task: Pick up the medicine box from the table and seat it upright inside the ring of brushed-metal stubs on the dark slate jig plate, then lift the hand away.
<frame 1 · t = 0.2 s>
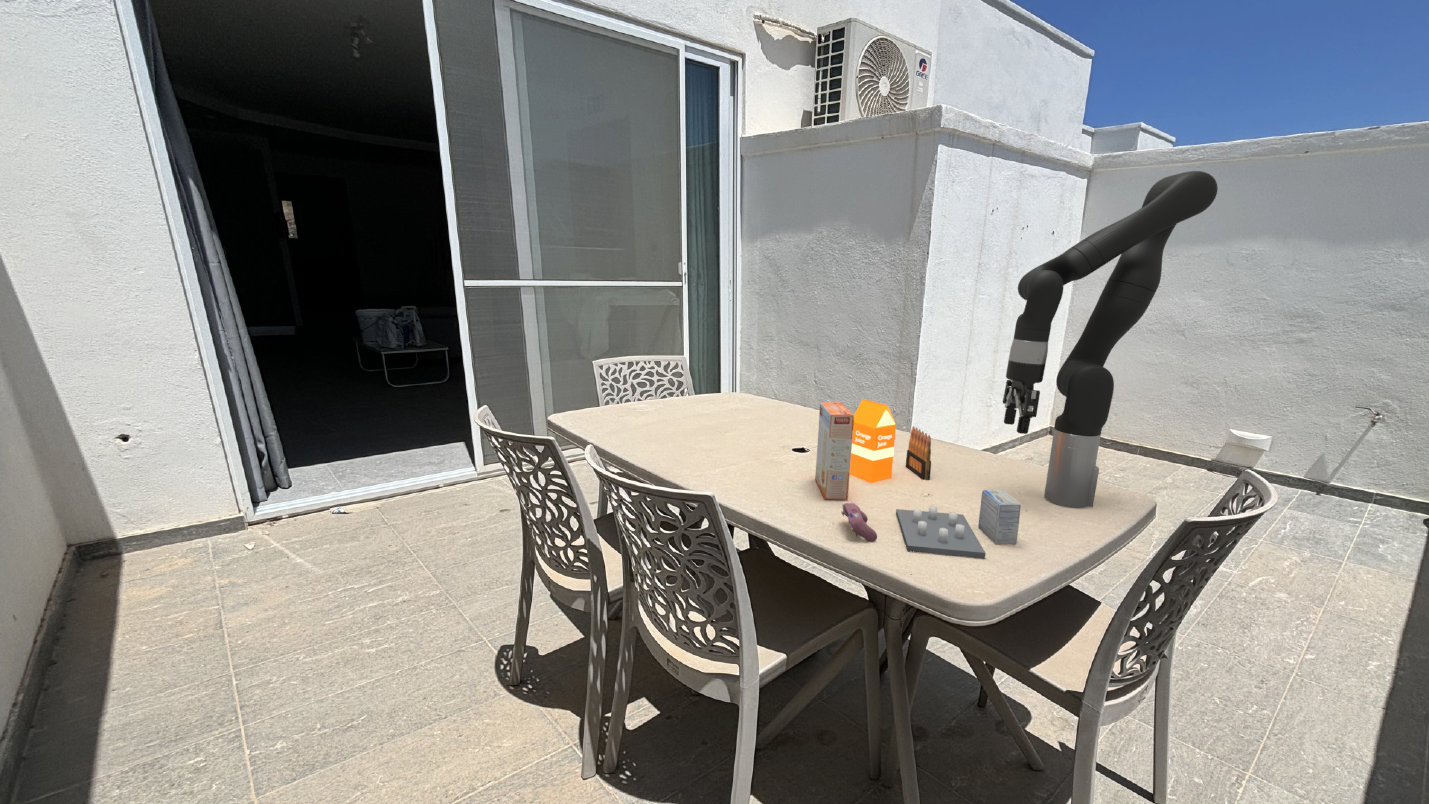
hand: (1015, 428, 134), 17 cm above the table, tool pointing down, fingers open, 8 cm apart
stub jig: (936, 534, 117), on the table
video game controller: (857, 532, 118), on the table
medicine box: (996, 537, 117), on the table
orange juice: (868, 476, 152), on the table
cracker box: (831, 490, 141), on the table
ammunition clip: (917, 473, 154), on the table
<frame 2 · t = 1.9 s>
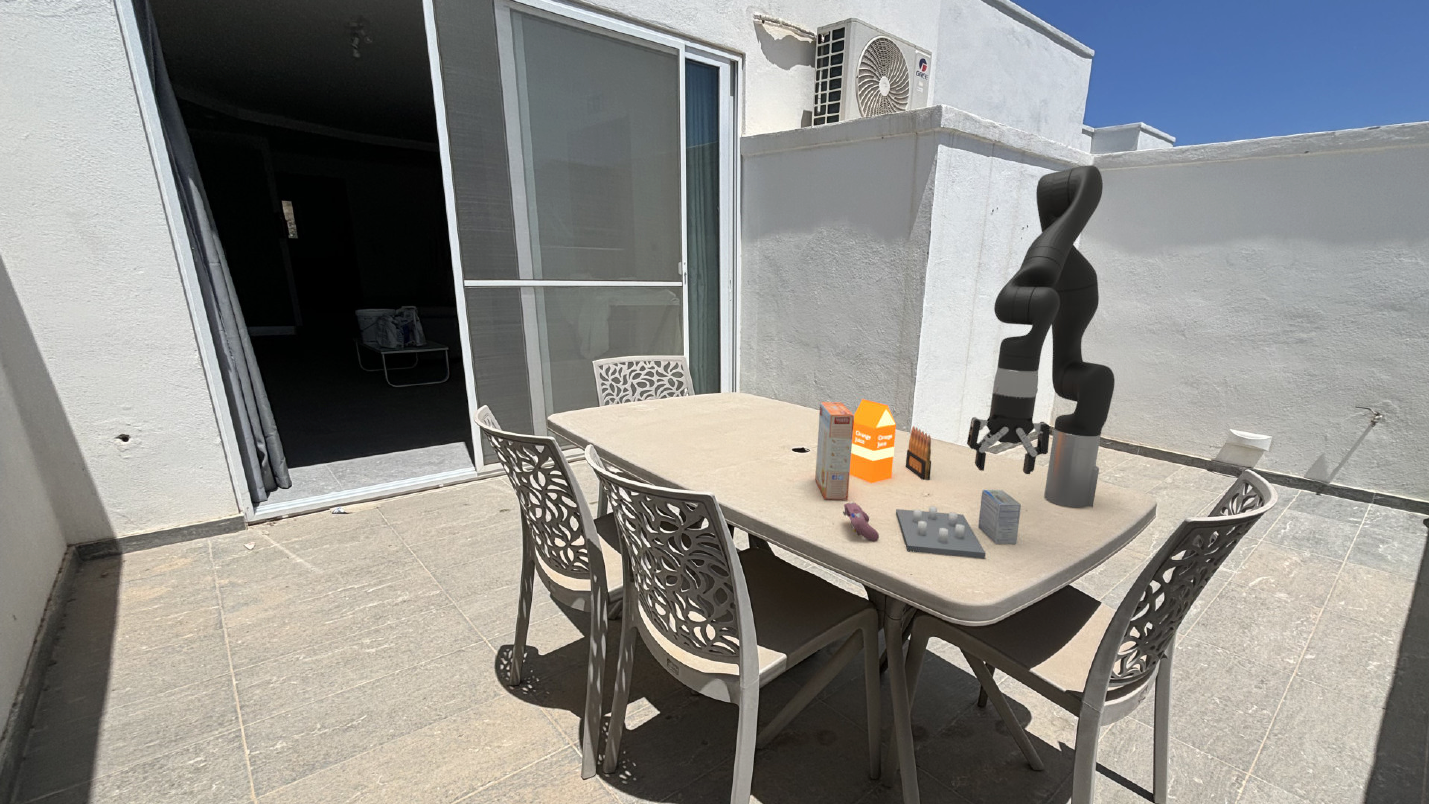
hand: (1003, 471, 114), 14 cm above the table, tool pointing down, fingers open, 8 cm apart
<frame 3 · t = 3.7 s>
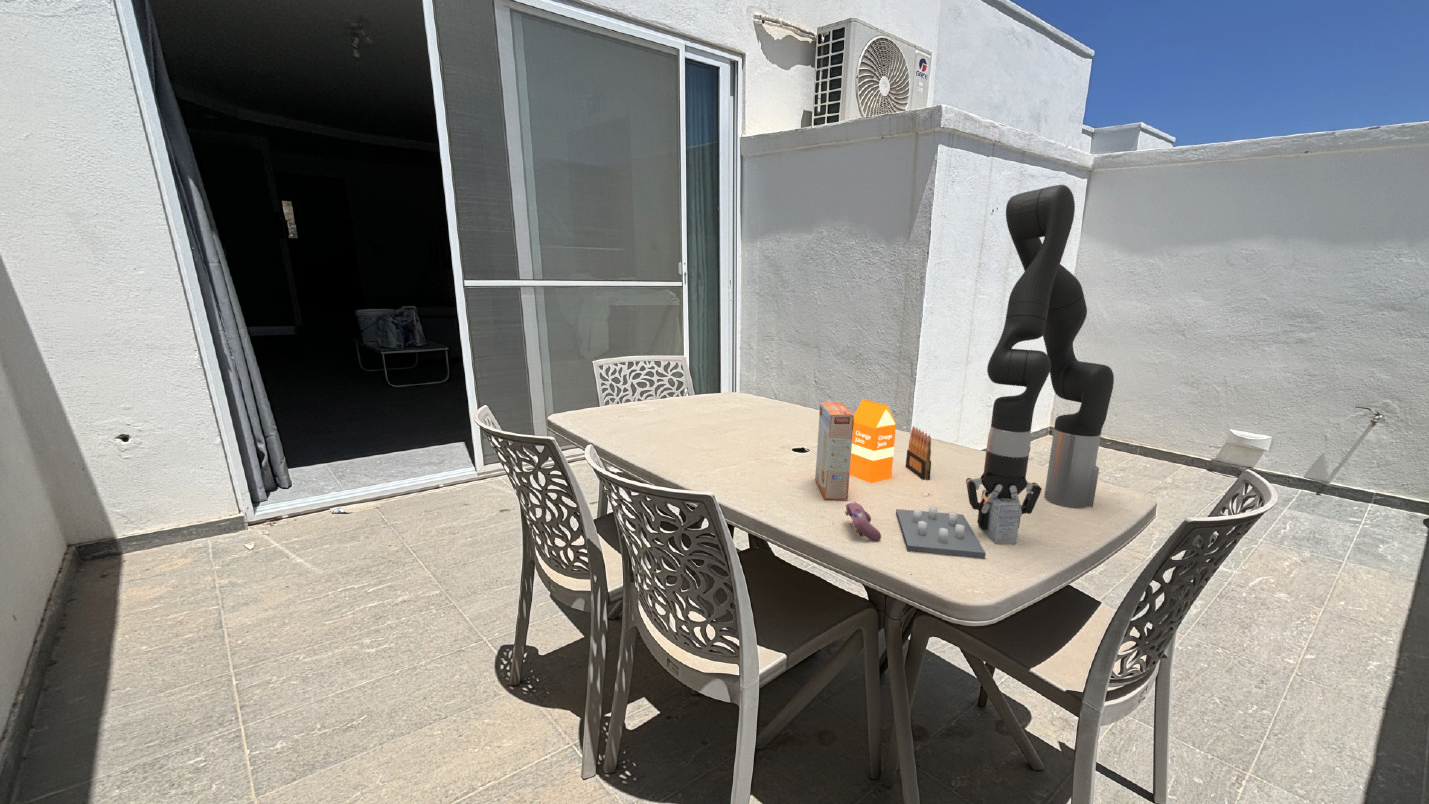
hand: (997, 529, 117), 1 cm above the table, tool pointing down, fingers closed on medicine box, 5 cm apart
medicine box: (996, 536, 117), on the table, touching gripper
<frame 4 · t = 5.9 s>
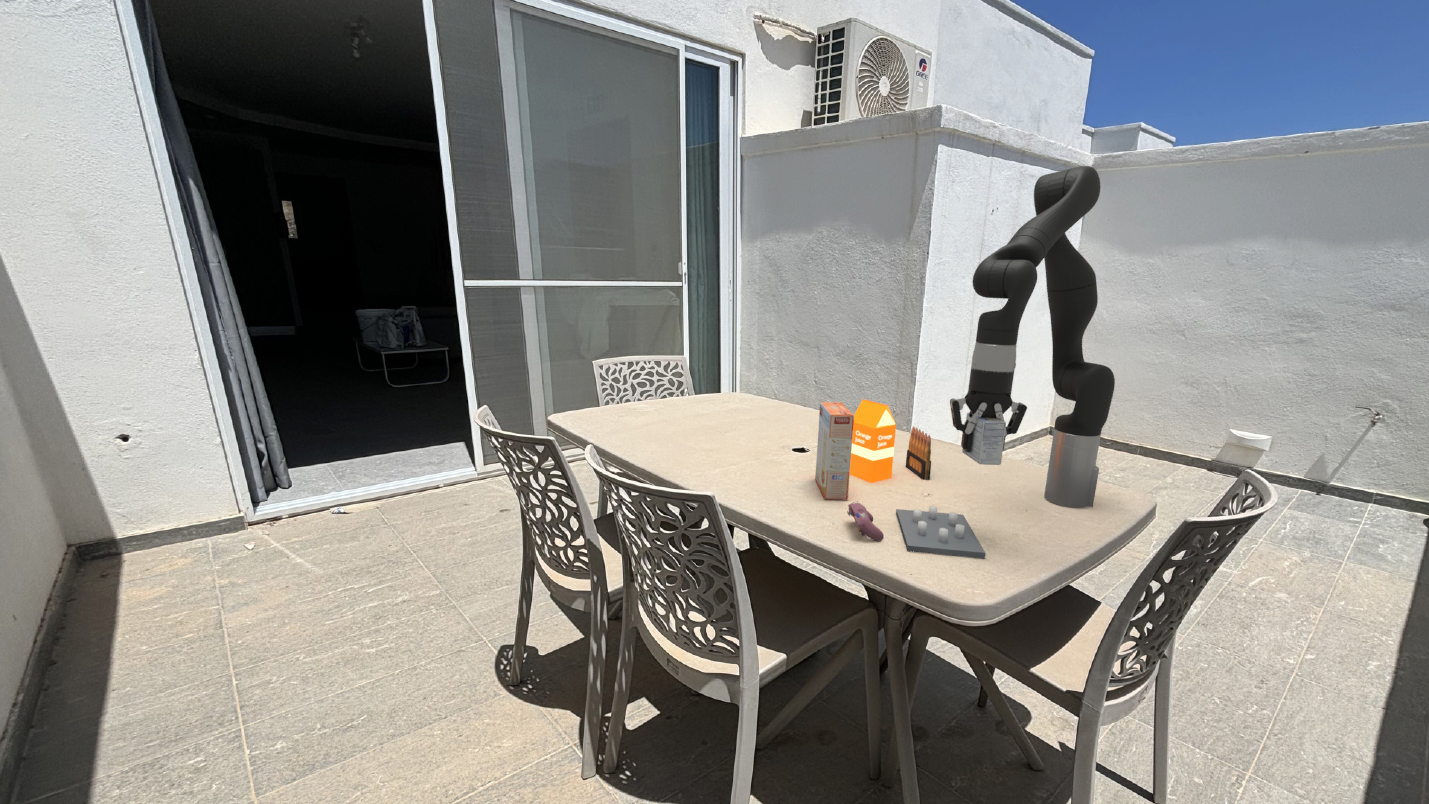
hand: (981, 451, 113), 18 cm above the table, tool pointing down, fingers closed on medicine box, 5 cm apart
medicine box: (980, 460, 113), point 16 cm above the table, touching gripper
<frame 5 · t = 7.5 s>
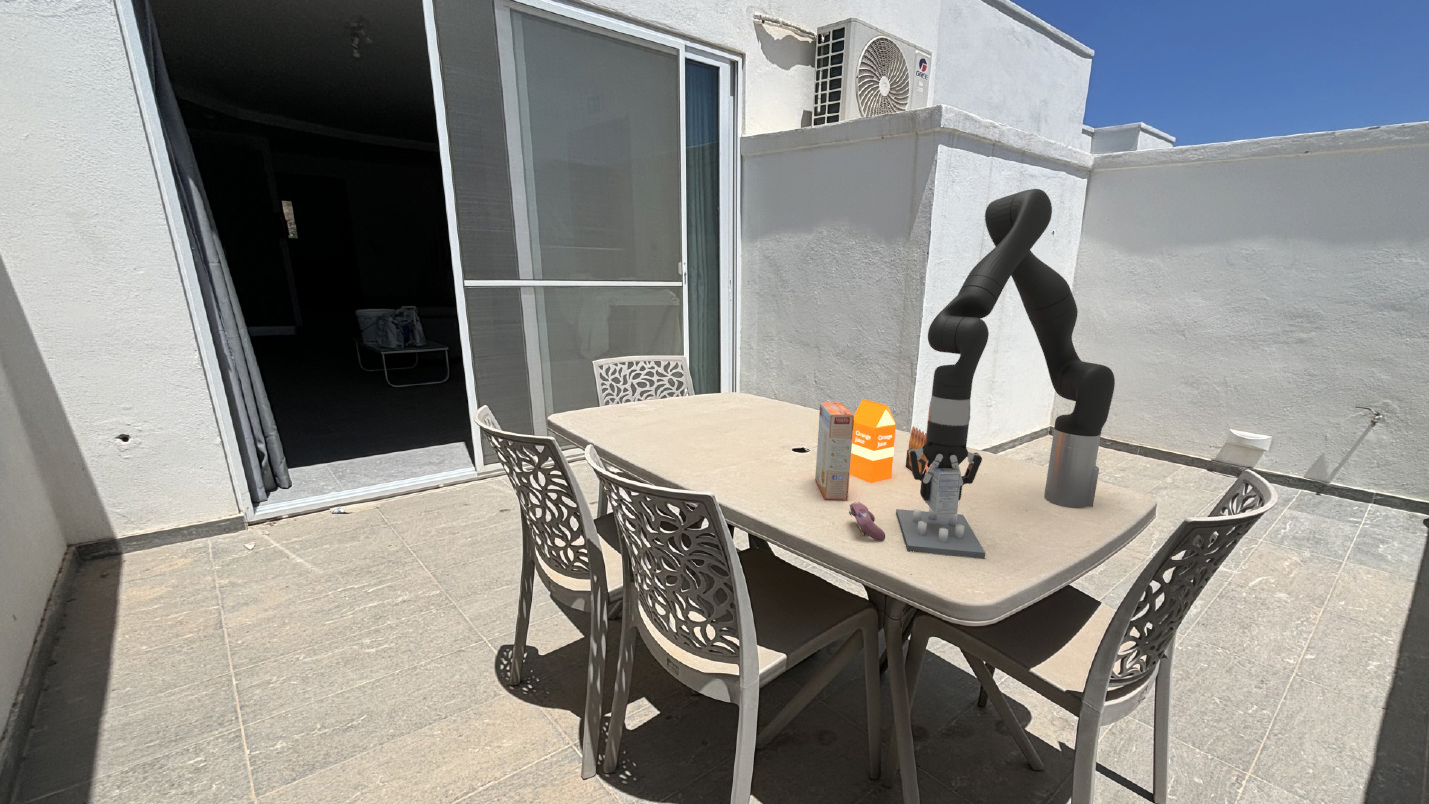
hand: (939, 500, 116), 7 cm above the table, tool pointing down, fingers closed on medicine box, 5 cm apart
medicine box: (938, 507, 116), point 6 cm above the table, touching gripper
when the fingers open (4 cm above the table, at t = 8.6 s): medicine box drops 1 cm, resting on stub jig.
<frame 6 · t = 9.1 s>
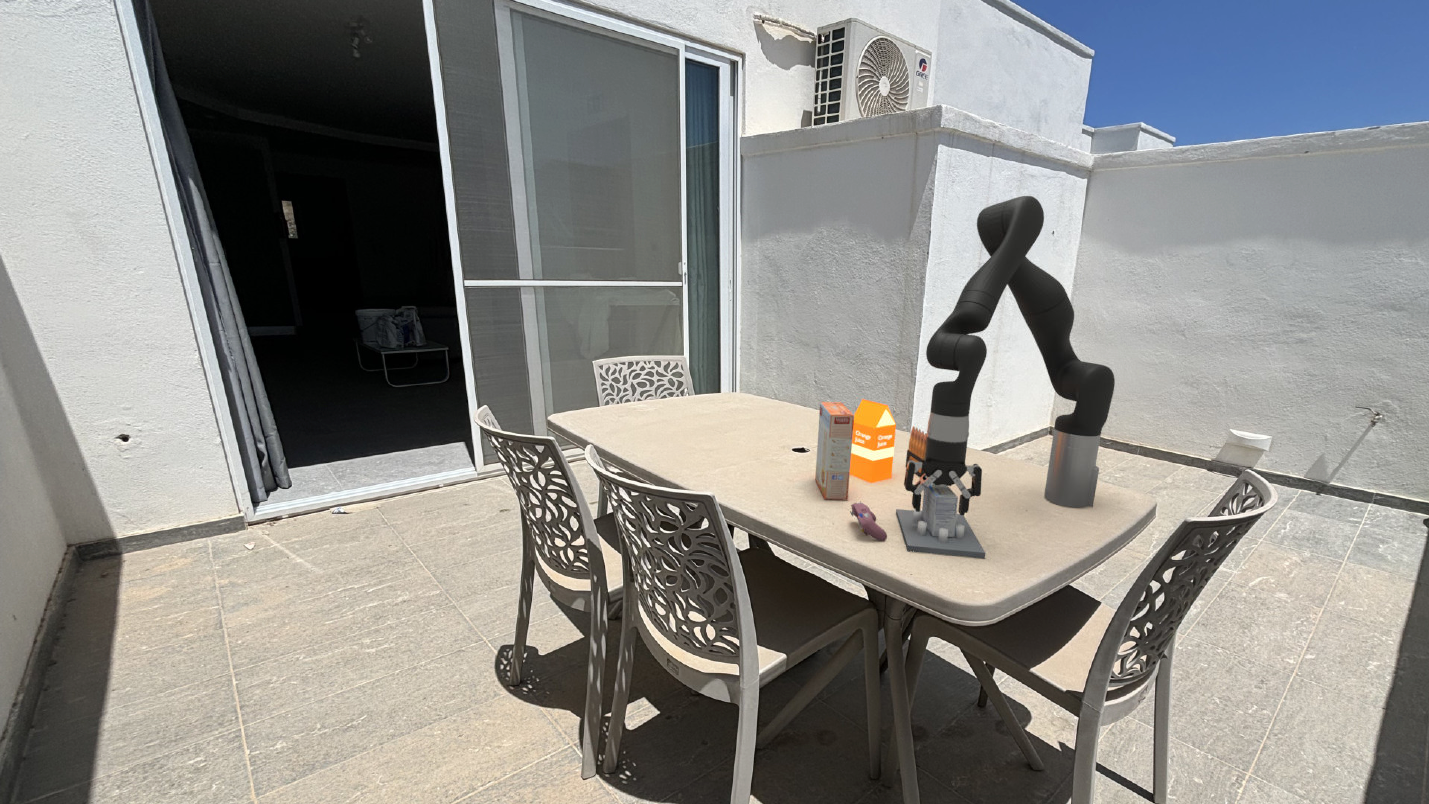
hand: (939, 512, 116), 5 cm above the table, tool pointing down, fingers open, 8 cm apart
medicine box: (936, 530, 117), point 1 cm above the table, touching stub jig
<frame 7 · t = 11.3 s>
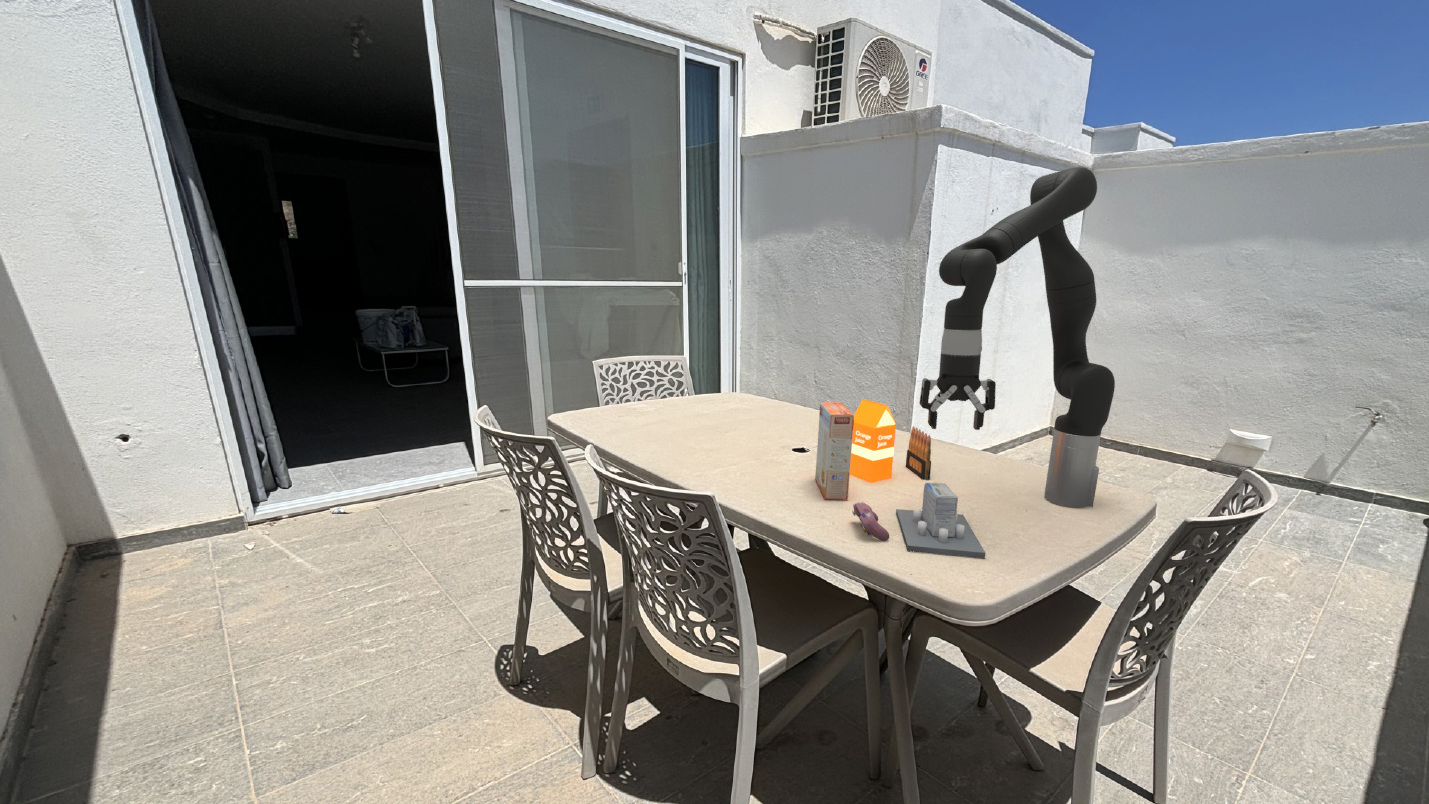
hand: (954, 428, 119), 21 cm above the table, tool pointing down, fingers open, 8 cm apart
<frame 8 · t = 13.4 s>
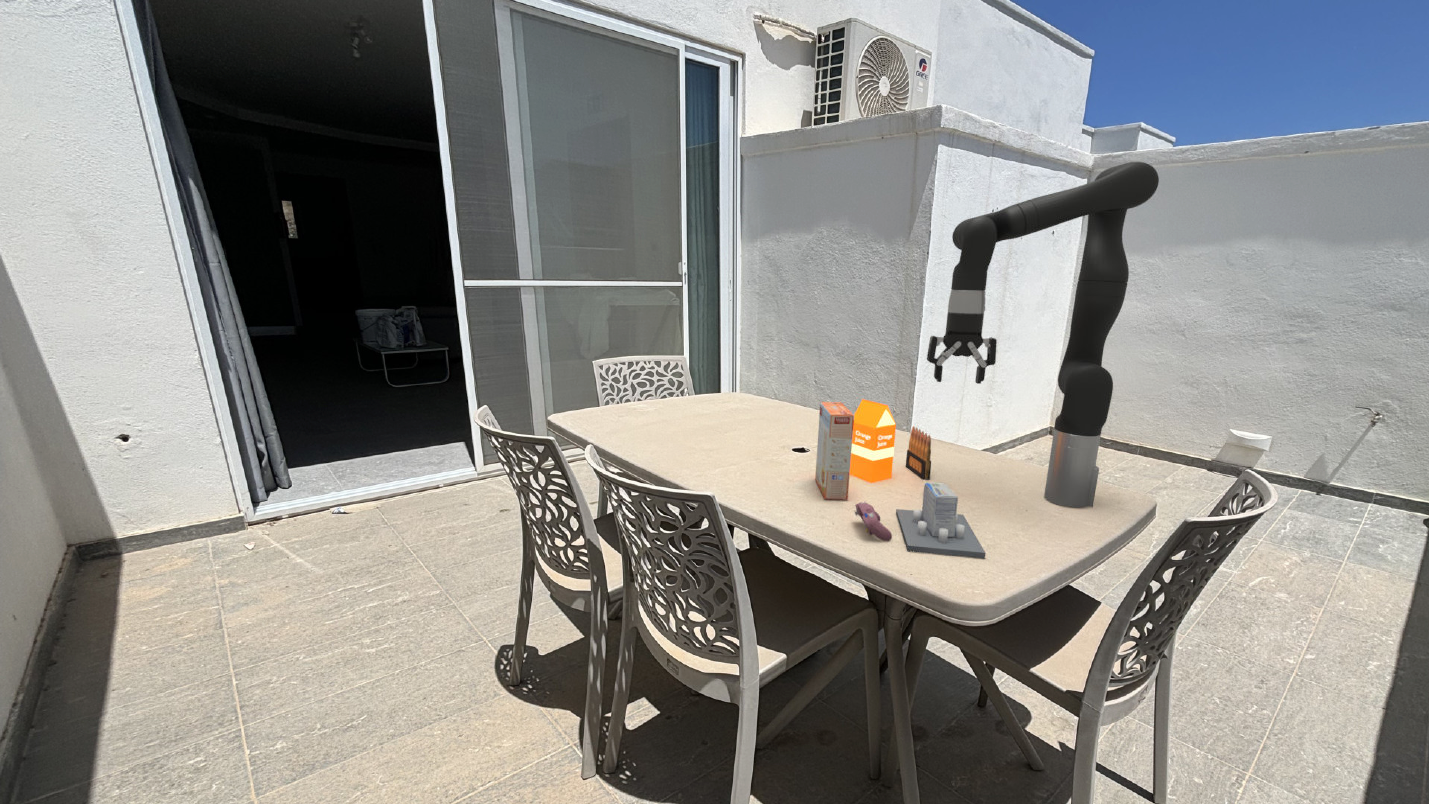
hand: (958, 382, 131), 28 cm above the table, tool pointing down, fingers open, 8 cm apart
at the end: medicine box 0.1 cm off-centre on the stub jig, point 1.0 cm above the stub jig's base; medicine box tilted 0°; the gripper is holding nothing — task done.
